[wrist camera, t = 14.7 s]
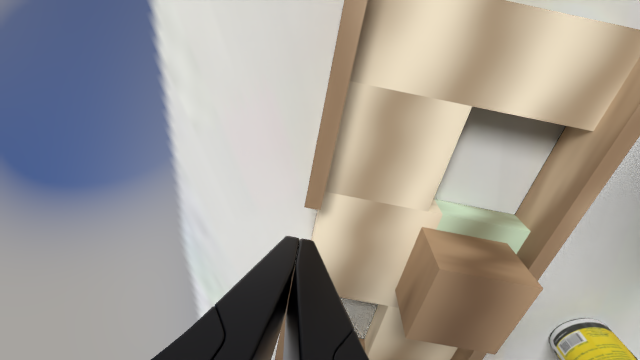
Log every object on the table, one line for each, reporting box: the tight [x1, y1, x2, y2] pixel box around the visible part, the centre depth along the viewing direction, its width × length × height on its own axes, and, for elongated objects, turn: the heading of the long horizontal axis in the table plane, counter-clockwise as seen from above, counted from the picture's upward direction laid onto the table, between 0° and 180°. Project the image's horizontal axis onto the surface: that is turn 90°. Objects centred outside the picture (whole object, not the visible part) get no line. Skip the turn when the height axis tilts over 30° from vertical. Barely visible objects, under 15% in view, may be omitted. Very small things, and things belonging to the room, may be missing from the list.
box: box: [275, 0, 640, 360], centre depth 21 cm, size 16×29×4 cm, turn 169°
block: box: [395, 227, 543, 354], centre depth 20 cm, size 6×6×4 cm
